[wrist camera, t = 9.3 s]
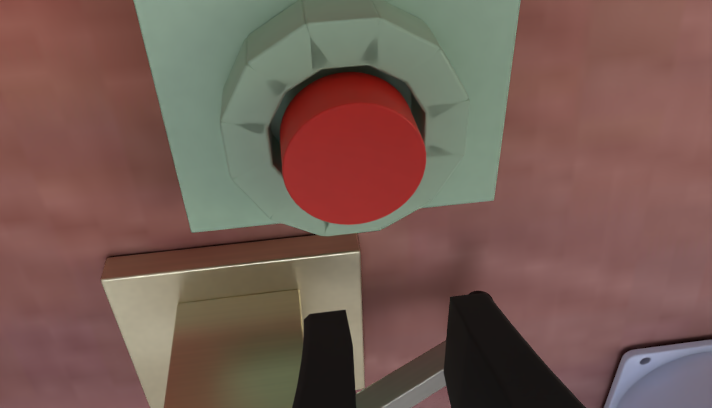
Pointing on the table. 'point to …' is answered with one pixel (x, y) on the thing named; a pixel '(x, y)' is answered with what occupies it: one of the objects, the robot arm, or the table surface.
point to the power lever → (408, 381)
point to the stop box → (307, 64)
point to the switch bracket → (232, 317)
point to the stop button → (350, 149)
